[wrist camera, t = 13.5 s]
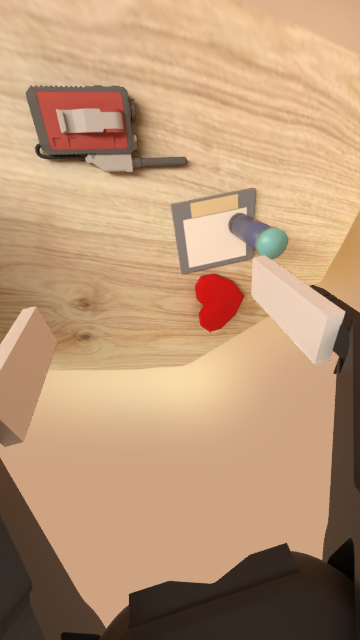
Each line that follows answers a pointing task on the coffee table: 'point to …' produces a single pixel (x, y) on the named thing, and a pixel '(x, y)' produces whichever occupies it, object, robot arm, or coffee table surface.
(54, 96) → the walkie-talkie
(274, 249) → the marker
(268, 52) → the coffee table surface
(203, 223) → the clipboard
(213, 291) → the heart
